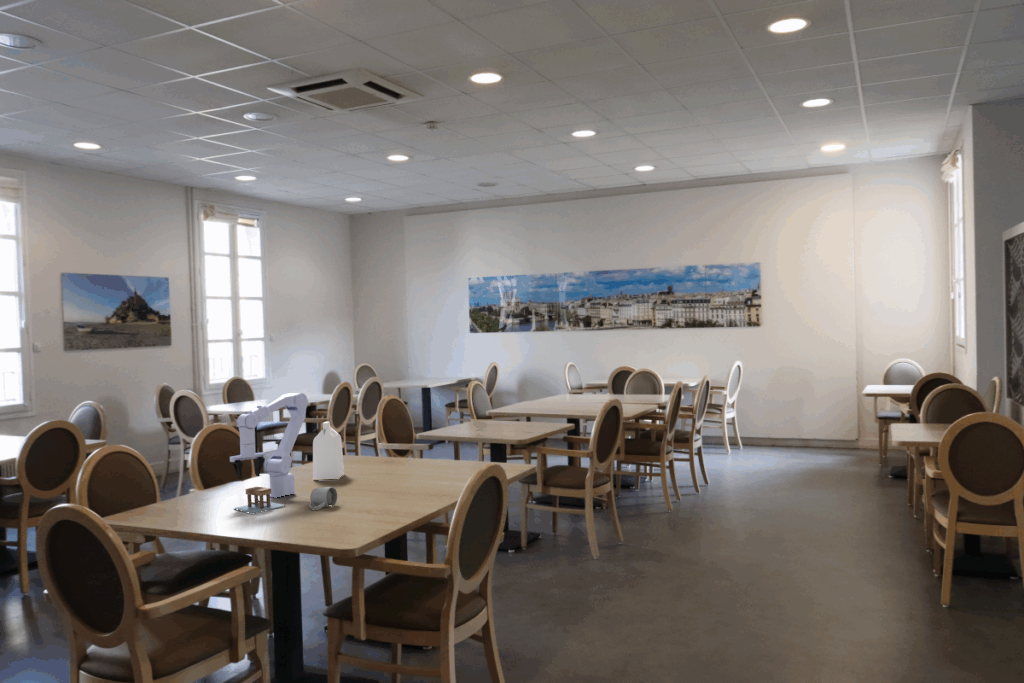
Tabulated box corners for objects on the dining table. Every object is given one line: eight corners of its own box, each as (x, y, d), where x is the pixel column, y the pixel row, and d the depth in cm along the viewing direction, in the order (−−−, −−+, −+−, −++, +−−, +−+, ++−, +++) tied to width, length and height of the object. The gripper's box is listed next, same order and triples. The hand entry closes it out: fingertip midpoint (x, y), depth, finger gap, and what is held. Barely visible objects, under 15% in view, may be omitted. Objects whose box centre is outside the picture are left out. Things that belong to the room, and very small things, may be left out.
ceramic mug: (320, 503, 302) (319, 484, 302) (338, 504, 299) (337, 485, 299) (304, 510, 292) (303, 490, 292) (322, 511, 289) (321, 491, 289)
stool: (272, 506, 298) (271, 488, 298) (261, 509, 294) (260, 490, 294) (256, 504, 303) (256, 486, 303) (246, 507, 299) (245, 489, 299)
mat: (266, 502, 308) (266, 501, 308) (285, 506, 299) (285, 505, 299) (233, 509, 298) (233, 508, 298) (251, 514, 289) (251, 512, 289)
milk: (320, 475, 363) (317, 421, 363) (344, 474, 363) (341, 420, 362) (312, 480, 351) (310, 424, 351) (337, 479, 351) (334, 423, 350)
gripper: (259, 441, 316) (260, 473, 316) (225, 445, 306) (226, 479, 306) (267, 442, 312) (268, 475, 311) (234, 446, 301) (235, 480, 301)
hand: (248, 477), depth 308 cm, fingers open, 7 cm apart
